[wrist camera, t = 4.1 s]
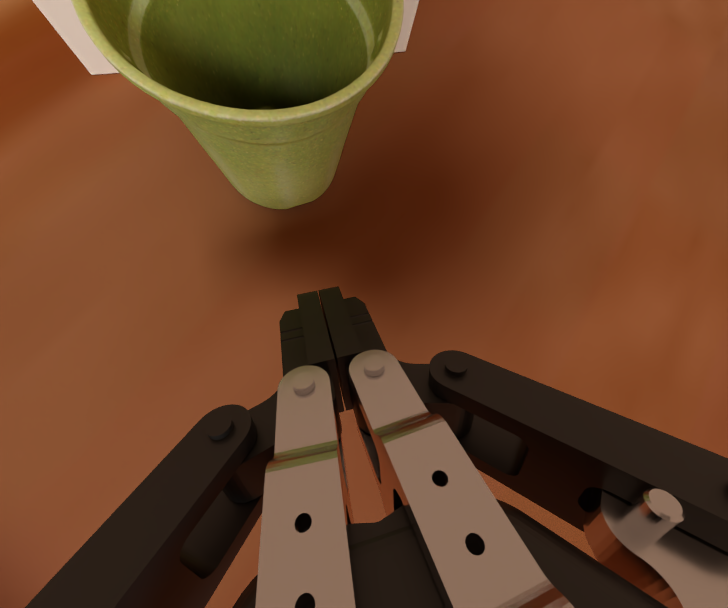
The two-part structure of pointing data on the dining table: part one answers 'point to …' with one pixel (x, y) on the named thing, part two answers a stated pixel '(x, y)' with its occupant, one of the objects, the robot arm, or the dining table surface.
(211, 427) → the robot arm
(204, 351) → the dining table surface
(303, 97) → the plant pot
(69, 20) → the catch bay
